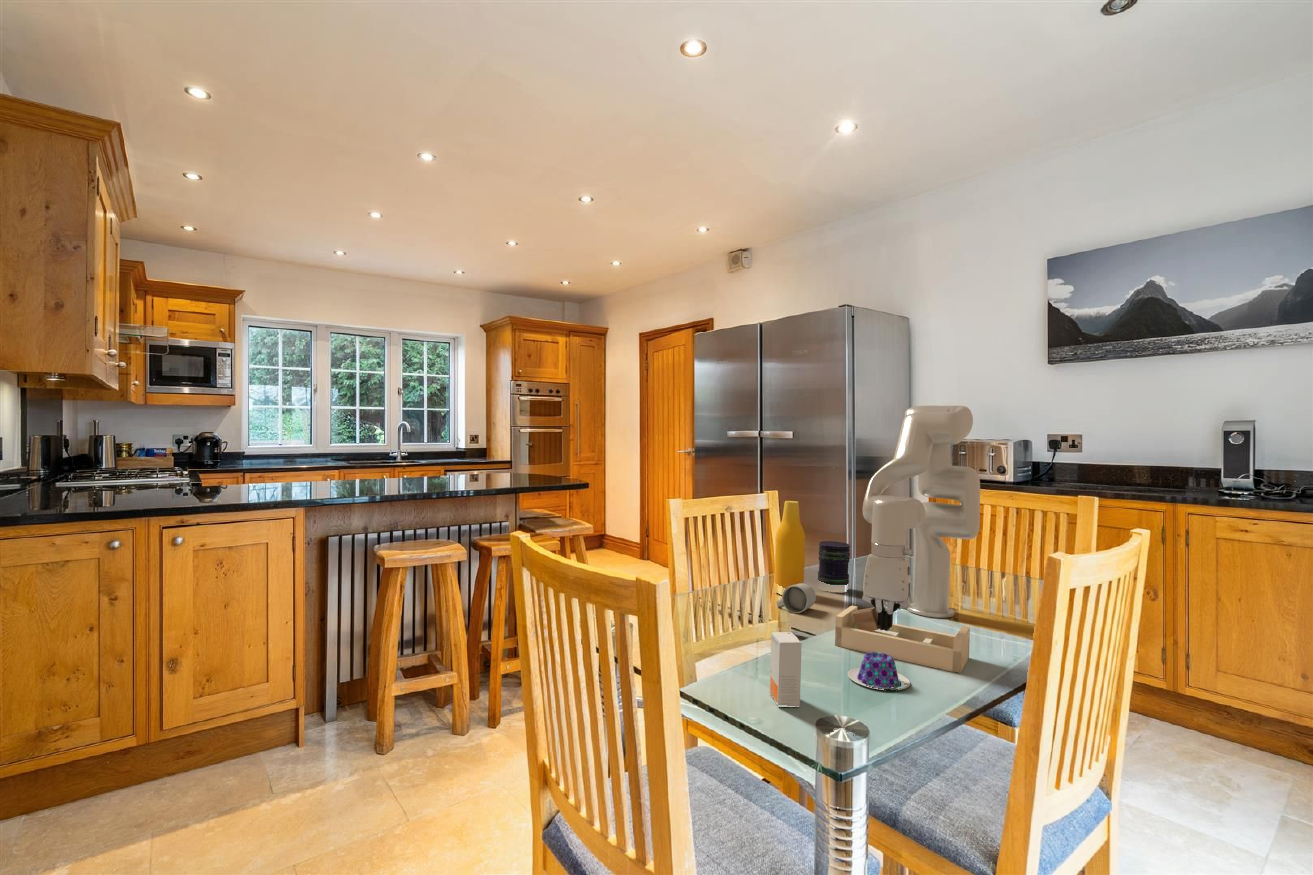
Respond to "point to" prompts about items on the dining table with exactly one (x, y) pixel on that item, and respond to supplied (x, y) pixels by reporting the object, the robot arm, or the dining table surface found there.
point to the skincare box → (785, 668)
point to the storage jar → (833, 562)
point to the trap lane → (906, 643)
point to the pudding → (877, 671)
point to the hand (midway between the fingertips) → (884, 629)
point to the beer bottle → (790, 548)
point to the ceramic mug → (797, 598)
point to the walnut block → (867, 619)
